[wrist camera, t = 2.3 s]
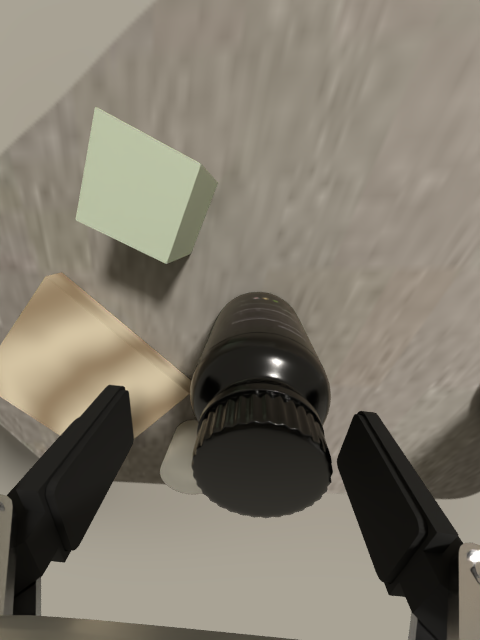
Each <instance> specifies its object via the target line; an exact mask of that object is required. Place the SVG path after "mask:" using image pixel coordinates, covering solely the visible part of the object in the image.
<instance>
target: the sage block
mask: <svg viewBox="0 0 480 640" xmlns="http://www.w3.org/2000/svg"><path fill="white" fill-rule="evenodd" d="M217 184H218V182H217V181H216V180H215V179H214V178H213V177H212V176H211V175H210V173H209V172H208V171H207V170H206V169H205V168H204V167H203V166H202V165H201V164H200V163H198V162H196V161H194V160H193V159H191V158H189V157H187V156H185V155H183V154H182V153H180V152H178V151H176V150H174V149H172V148H171V147H169V146H167V145H165V144H163V143H161V142H160V141H158V140H156V139H154V138H152V137H150V136H149V135H147V134H145V133H143V132H141V131H139V130H137V129H136V128H134V127H132V126H130V125H128V124H126V123H125V122H123V121H121V120H119V119H117V118H115V117H114V116H112V115H110V114H108V113H106V112H104V111H103V110H101V109H99V108H97V107H95V111H94V117H93V122H92V128H91V134H90V140H89V146H88V151H87V157H86V163H85V169H84V174H83V180H82V186H81V192H80V197H79V203H78V209H77V215H76V221H79V222H81V223H83V224H85V225H87V226H89V227H91V228H93V229H95V230H97V231H99V232H101V233H103V234H105V235H107V236H110V237H112V238H114V239H116V240H118V241H120V242H122V243H124V244H126V245H128V246H130V247H132V248H134V249H136V250H138V251H141V252H143V253H145V254H147V255H149V256H151V257H153V258H155V259H157V260H159V261H161V262H163V263H165V264H168V263H170V262H173V261H175V260H178V259H180V258H182V257H185V256H187V255H190V254H191V252H192V250H193V247H194V245H195V242H196V239H197V237H198V234H199V231H200V229H201V226H202V224H203V221H204V218H205V216H206V213H207V211H208V208H209V205H210V203H211V200H212V197H213V195H214V192H215V190H216V187H217Z"/></svg>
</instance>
